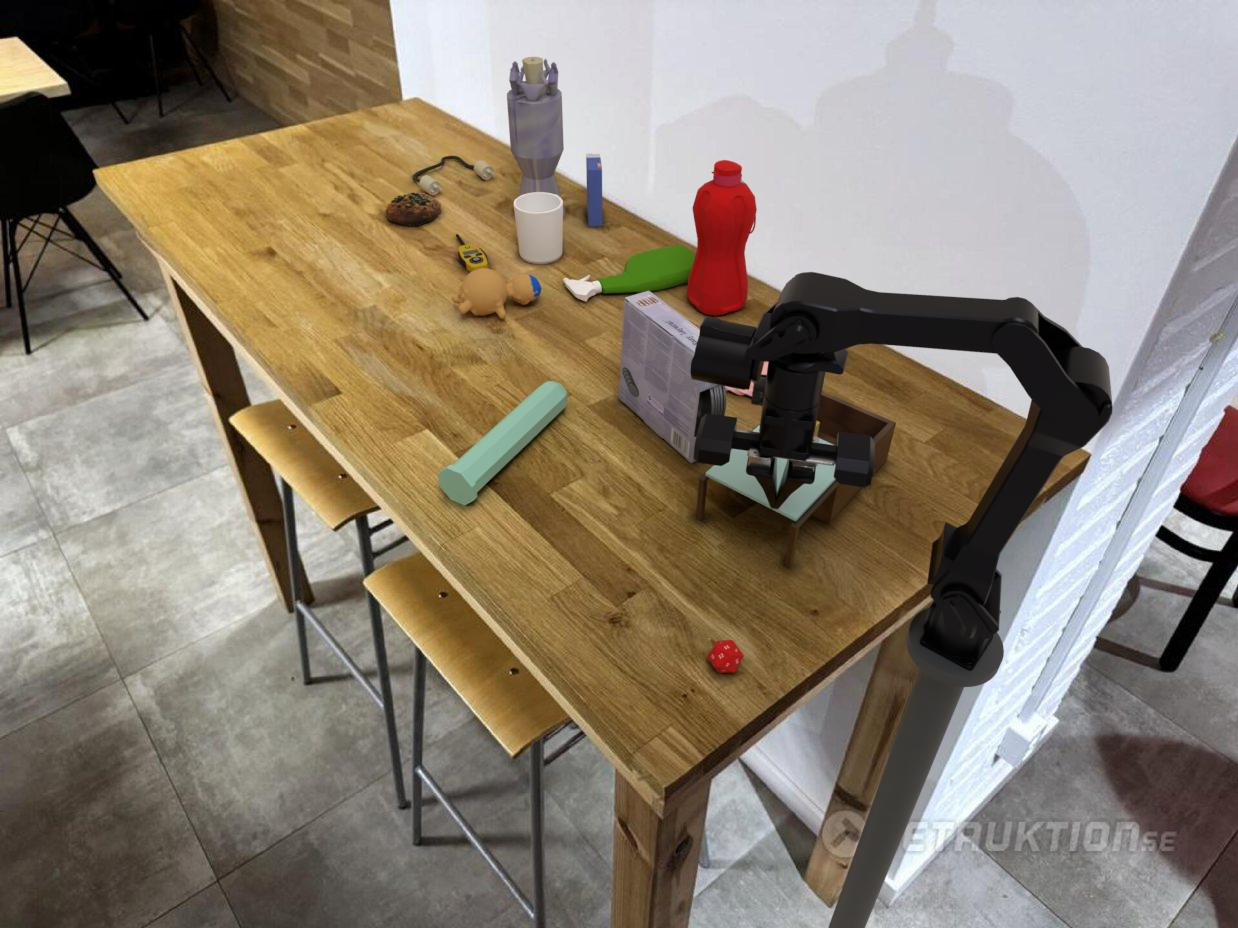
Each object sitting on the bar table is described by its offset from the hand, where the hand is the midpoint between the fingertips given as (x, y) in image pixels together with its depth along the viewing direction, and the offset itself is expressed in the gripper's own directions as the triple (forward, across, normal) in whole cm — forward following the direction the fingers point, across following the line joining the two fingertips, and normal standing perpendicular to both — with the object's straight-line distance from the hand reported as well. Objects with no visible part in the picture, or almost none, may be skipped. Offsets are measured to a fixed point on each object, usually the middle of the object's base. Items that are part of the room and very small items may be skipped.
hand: (774, 506), depth 104 cm
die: (+12, +3, +14) cm, 19 cm away
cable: (+12, +79, -100) cm, 128 cm away
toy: (+12, +51, -51) cm, 73 cm away
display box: (+11, -2, -16) cm, 20 cm away
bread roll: (+12, +79, -82) cm, 115 cm away
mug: (+12, +49, -73) cm, 89 cm away
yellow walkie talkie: (+12, +62, -68) cm, 93 cm away
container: (+12, +37, -16) cm, 42 cm away
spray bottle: (+12, +30, -66) cm, 73 cm away
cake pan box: (+12, +16, -26) cm, 33 cm away
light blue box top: (+4, 0, -12) cm, 13 cm away
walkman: (+12, +43, -89) cm, 100 cm away
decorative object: (+12, +54, -89) cm, 105 cm away
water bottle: (+12, +14, -62) cm, 65 cm away
